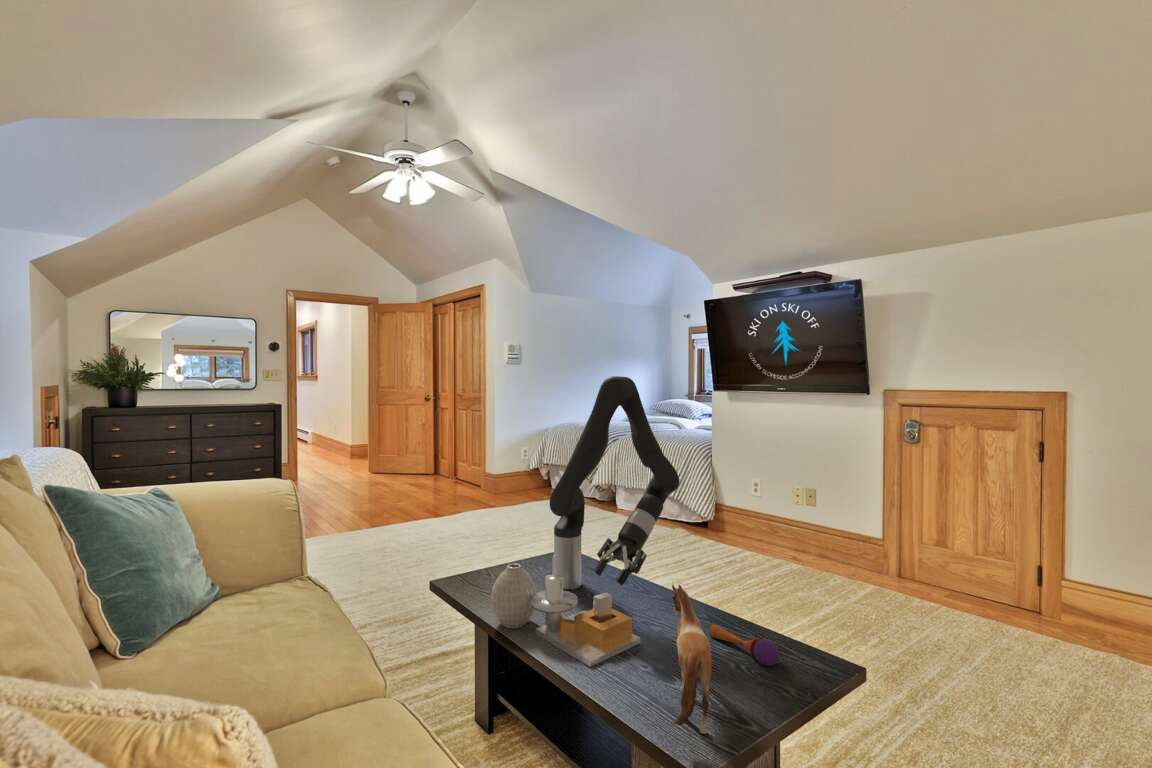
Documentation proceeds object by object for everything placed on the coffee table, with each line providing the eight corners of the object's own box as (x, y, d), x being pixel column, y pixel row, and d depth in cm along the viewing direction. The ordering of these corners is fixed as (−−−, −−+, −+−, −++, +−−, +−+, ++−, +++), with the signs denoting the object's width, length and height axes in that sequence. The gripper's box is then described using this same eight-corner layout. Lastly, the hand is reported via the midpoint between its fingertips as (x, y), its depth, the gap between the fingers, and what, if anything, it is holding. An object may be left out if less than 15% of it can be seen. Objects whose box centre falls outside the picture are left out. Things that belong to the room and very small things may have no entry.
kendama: (721, 618, 150) (785, 642, 134) (720, 641, 149) (783, 668, 133) (706, 619, 147) (770, 644, 130) (705, 643, 146) (768, 670, 129)
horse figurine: (671, 665, 133) (671, 582, 132) (703, 668, 131) (704, 584, 131) (672, 753, 102) (673, 644, 102) (714, 758, 101) (715, 648, 100)
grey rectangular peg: (593, 633, 146) (593, 596, 146) (606, 628, 149) (606, 592, 149) (598, 636, 144) (599, 599, 144) (611, 632, 147) (612, 595, 146)
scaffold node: (520, 632, 150) (520, 576, 149) (577, 611, 163) (577, 559, 163) (582, 670, 130) (582, 606, 130) (640, 643, 144) (640, 584, 144)
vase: (527, 610, 163) (527, 555, 163) (543, 628, 152) (543, 569, 151) (485, 618, 158) (485, 561, 158) (499, 638, 146) (499, 576, 146)
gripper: (613, 515, 158) (583, 564, 151) (650, 526, 147) (619, 579, 140) (625, 530, 161) (596, 578, 154) (662, 542, 151) (633, 594, 143)
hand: (607, 578), depth 147 cm, fingers open, 8 cm apart
